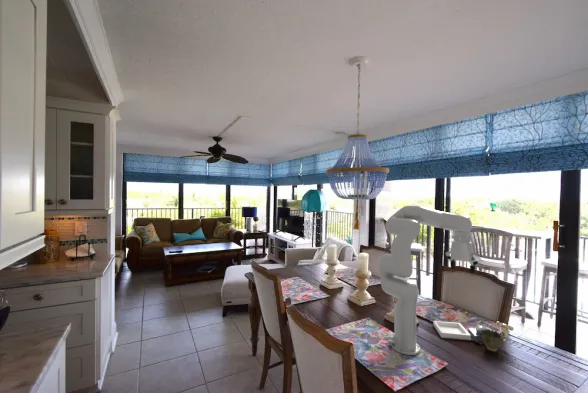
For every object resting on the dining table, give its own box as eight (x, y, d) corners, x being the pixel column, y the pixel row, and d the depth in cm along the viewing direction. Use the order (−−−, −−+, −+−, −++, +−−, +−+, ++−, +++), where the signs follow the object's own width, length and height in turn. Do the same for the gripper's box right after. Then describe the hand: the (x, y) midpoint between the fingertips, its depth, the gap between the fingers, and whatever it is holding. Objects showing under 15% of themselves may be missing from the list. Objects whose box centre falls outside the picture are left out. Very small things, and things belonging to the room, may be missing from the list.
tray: (441, 337, 132) (441, 332, 132) (433, 325, 144) (433, 320, 144) (470, 340, 129) (470, 335, 129) (459, 327, 142) (459, 322, 142)
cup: (505, 356, 116) (505, 337, 116) (486, 354, 118) (486, 336, 118) (496, 346, 123) (496, 329, 123) (478, 345, 125) (478, 328, 125)
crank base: (475, 342, 127) (475, 335, 127) (468, 333, 135) (468, 327, 135) (494, 344, 126) (494, 337, 126) (485, 335, 133) (485, 329, 133)
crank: (474, 330, 131) (474, 314, 131) (478, 328, 133) (478, 313, 133) (511, 345, 118) (511, 328, 118) (515, 343, 120) (515, 326, 120)
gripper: (442, 237, 149) (442, 268, 149) (476, 241, 134) (476, 275, 134) (449, 236, 153) (449, 266, 152) (483, 240, 138) (483, 273, 138)
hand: (462, 270), depth 143 cm, fingers open, 9 cm apart
